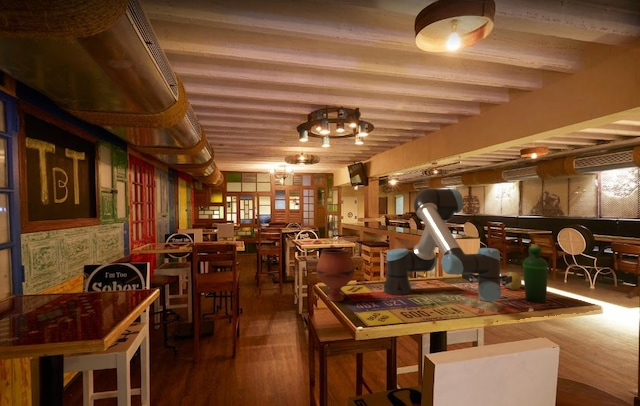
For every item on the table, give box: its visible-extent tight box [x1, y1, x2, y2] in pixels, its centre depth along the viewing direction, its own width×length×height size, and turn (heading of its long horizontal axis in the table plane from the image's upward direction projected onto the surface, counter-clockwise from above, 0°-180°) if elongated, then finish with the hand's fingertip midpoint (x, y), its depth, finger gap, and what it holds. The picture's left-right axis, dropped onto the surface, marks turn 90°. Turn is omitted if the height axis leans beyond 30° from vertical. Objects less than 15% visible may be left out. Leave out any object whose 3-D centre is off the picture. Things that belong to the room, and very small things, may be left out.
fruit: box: [503, 271, 523, 291], centre depth 179 cm, size 10×11×10 cm
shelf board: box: [459, 296, 504, 313], centre depth 148 cm, size 16×9×4 cm, turn 44°
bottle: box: [522, 243, 549, 304], centre depth 157 cm, size 11×11×28 cm
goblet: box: [316, 248, 355, 302], centre depth 160 cm, size 19×19×25 cm
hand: (485, 273), depth 149 cm, fingers open, 13 cm apart
